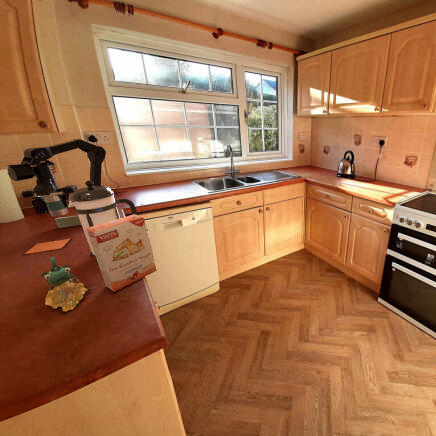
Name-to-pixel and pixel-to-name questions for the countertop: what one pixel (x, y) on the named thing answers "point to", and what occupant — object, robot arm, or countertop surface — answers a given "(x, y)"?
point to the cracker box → (122, 251)
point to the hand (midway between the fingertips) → (57, 208)
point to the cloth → (48, 246)
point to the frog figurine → (63, 288)
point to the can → (55, 204)
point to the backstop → (68, 221)
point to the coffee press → (96, 206)
